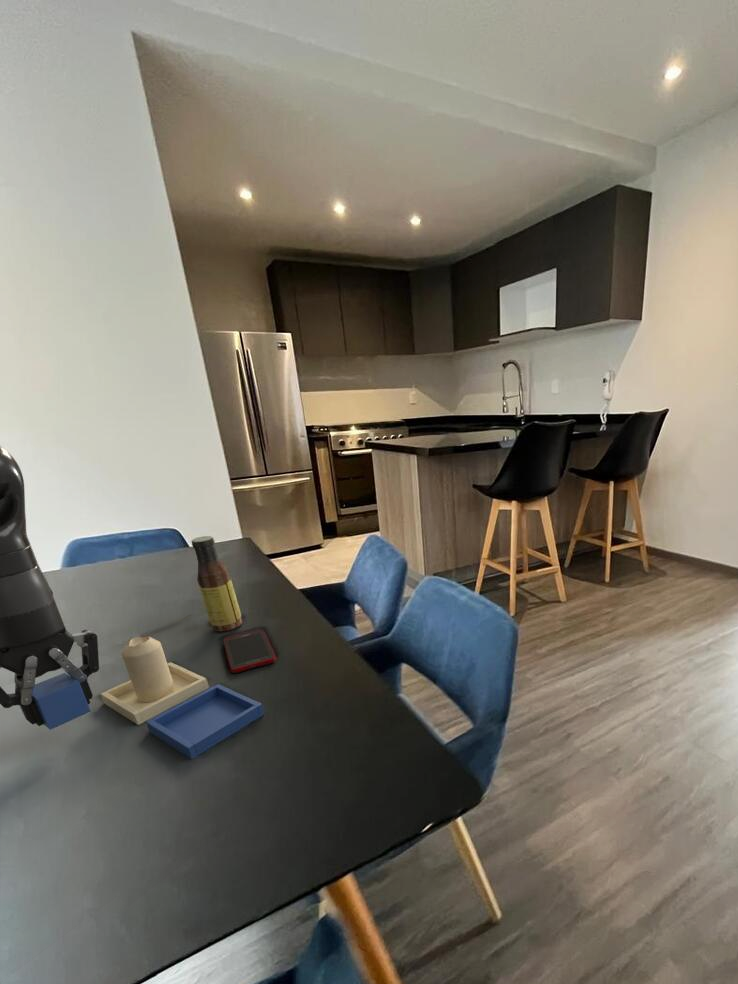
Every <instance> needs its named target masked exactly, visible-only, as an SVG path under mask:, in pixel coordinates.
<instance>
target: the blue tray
mask: <svg viewBox="0 0 738 984" xmlns="http://www.w3.org/2000/svg"><path fill="white" fill-rule="evenodd" d="M264 715H265V711H264V707H263V704H262V703H260V702H259V701H256V700H254V699H252V698H249V697H248V696H245V695H244V694H241V693H239V692H236V691H234V690H232V689H230V688H228V687H226V686H224V685H222V684H219V683H217V684H215V685H213V686H211V687H209V688H208V689H206V690H204V691H202V692H201V693H199V694H197V695H195V696H193V697H191V698H189V699H187V700H185V701H183V702H181V703H179V704H178V705H176V706H174V707H172V708H170V709H168V710H166V711H164V712H162V713H160V714H158V715H157V716H155V717H153V718H151V719H149V720H147V721H145V724H146V726H147V729H148V733H150V734H152V735H153V736H155V737H156V738H158V739H159V740H161V741H162V742H164V743H165V744H166V745H168V746H170V747H171V748H173V749H175V750H177V751H178V752H180V753H181V754H183V755H185V756H186V757H188V758H189V759H190V760H193V759H195V758H196V757H198V756H199V755H201V754H203V753H204V752H206V751H208V750H209V749H211V748H212V747H214V746H216V745H217V744H220V742H222V741H223V740H226V739H227V738H229V737H230V736H232V735H234V734H235V733H237V732H238V731H240V730H242V729H243V728H245V727H246V726H248V725H250V724H251V723H253V722H255V721H256V720H258V719H259V718H261V717H263V716H264Z"/></svg>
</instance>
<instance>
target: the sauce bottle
mask: <svg viewBox="0 0 738 984" xmlns="http://www.w3.org/2000/svg"><path fill="white" fill-rule="evenodd" d="M191 546H192V548H193V549H194V551H195V555H196V560H197V577H196V581H197V585H198V587H199V591H200V593H201V597H202V600H203V603H204V607H205V610H206V614H207V616H208V619H209V622H210V625H211V626H212V628H213V630H214V631H216V632H229V631H232V630H234V629H237V628H239V627H240V626H241V625H242V624H243V618H242V612H241V609H240V605H239V602H238V598H237V596H236V591H235V588H234V585H233V582H232V578H231V576H230V572H229V569H228V567H227V565H226V564H225V563H224V562H223V561H222V560H221V559H220V558H219V555H218V553H217V550H216V547H215V546H216V545H215V539H214V537H213V536H212V535H203V536H199V537H195V538H193V539H191Z"/></svg>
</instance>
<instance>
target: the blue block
mask: <svg viewBox="0 0 738 984" xmlns="http://www.w3.org/2000/svg"><path fill="white" fill-rule="evenodd" d="M32 700H33V701H34V702H35V703H36V705H37V707H38V709H39V712H40V714H41V716H42V718H43V721H44V723H45V724H43V726H44V727H47V729H48V730H49V731H51V730H53V729H55V728H57V727H60V726H62V725H64V724H66V723H68V722H71V721H73V720H75V719H77V718H79V717H82V716H84V715H86V714H88V713H91V709H90V706H89V704H88V703H87V701H86V698H85V696H84V693H83V691H82V688H81V685H80V683H79V682H78V681H77V680H75V679H74V678H72V677H71V676H70V675H69V674H67V673H66V672H63V673H61V674H58V675H55V676H53V677H50V678H48V679H45V680H43V681H40V682H37V683H35V687H34V688H33V697H32Z"/></svg>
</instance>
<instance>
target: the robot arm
mask: <svg viewBox="0 0 738 984" xmlns="http://www.w3.org/2000/svg"><path fill="white" fill-rule="evenodd" d="M24 480H25V479H24V475H23V472H22V470H21V467H20V465H19V464H18V462H17V460H15V458H14V456H12V454H10V452H9V451H8V450H7V449H6V448H4V447H2V446H1V445H0V669H1V668H2V669H5V670H6V671H9V672H11V673H14V681H13V682H14V686H15V687H14V693H7V692H6V691H5V690H4V688H2V686H0V705H1V706H2V708H4V709H10V708H12V707H13V706H19V707H20V709H21V711H22V713H23V716H24V718H25V720H26V721H27V722H29V723H30V724H31V725H36V726H38V727H40V726H44V724H45V723H44V721H43V718H42V716H41V714H40V712H39V709H38V707H37V705H36V703H35V702H34V701H33V700H32V697H33V688H34V687H35V684H36V679H37V678H39V677H42V676H44V675H45V674H46V673H49V672H56V671H58V670H60V669H62V670H63V671H64V673H66V674H68V675H69V676H71V677H72V678H74V679H75V680H77V681H78V682H79V683H80V685H81V688H82V691H83V693H84V696H85V698H86V701H87V703H88V705H90V704H91V701H90V700H92V699H93V692H92V688H91V686H90V684H89V682H88V678H89V677H90V676H91V675H92V674H95V673H97V672H98V671H100V660H99V643H98V635H97V634H96V633H94V631H93V632H92V631H91V630H88V629H82V630H81V632H77V633H71V632H69V631H68V630H67V629H66V625H65V624H64V623H65V622H64V621H63V618H62V616H61V613H60V610H59V608H58V605H57V603H56V600H55V597H54V593H53V589H52V588H51V586H50V584H49V583H48V580H47V578H46V576H45V574H44V573H43V570H42V569H41V567H40V565H39V562H38V560H37V558H36V555H35V552H34V550H33V547H32V545H31V542H30V540H29V537H28V534H27V514H26V496H25V495H26V493H25V481H24ZM74 643H76V646H77V647H79V648H81V661H82V665H81V666H80V667H79V666H77V665H76V664H75V663H74V662H73V661H72V660H71V659H69V658H68V657H69V656H70V653H71V650H72V648H73V645H74Z"/></svg>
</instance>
